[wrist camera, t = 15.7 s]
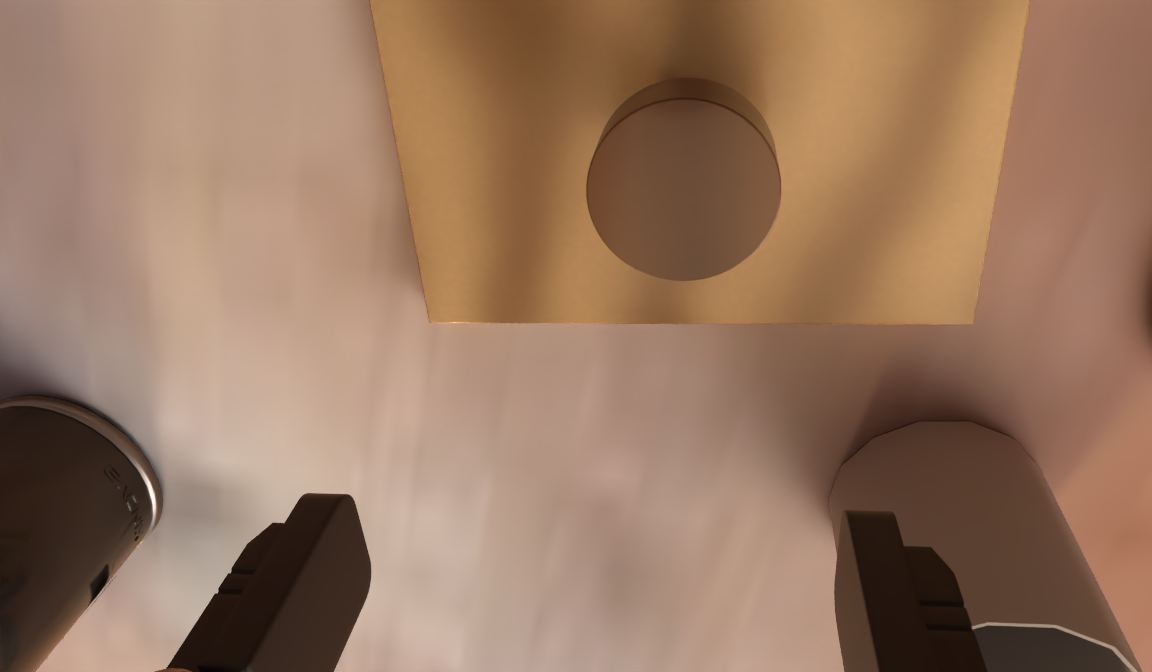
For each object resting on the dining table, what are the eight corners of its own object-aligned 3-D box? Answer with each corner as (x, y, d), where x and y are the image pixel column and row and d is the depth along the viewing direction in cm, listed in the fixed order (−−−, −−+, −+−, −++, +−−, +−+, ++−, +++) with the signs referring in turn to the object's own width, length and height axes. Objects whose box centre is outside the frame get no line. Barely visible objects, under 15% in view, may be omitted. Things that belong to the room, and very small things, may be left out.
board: (436, 311, 34) (428, 323, 33) (366, -75, 27) (355, -72, 26) (966, 311, 31) (973, 325, 30) (1041, -126, 24) (1053, -124, 23)
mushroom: (611, 215, 30) (592, 282, 26) (601, 57, 27) (578, 101, 23) (768, 212, 29) (777, 281, 25) (774, 48, 26) (785, 93, 22)
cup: (864, 402, 34) (913, 597, 25) (1077, 440, 33) (1202, 652, 25) (808, 556, 38) (834, 766, 29) (995, 591, 37) (1078, 815, 29)
